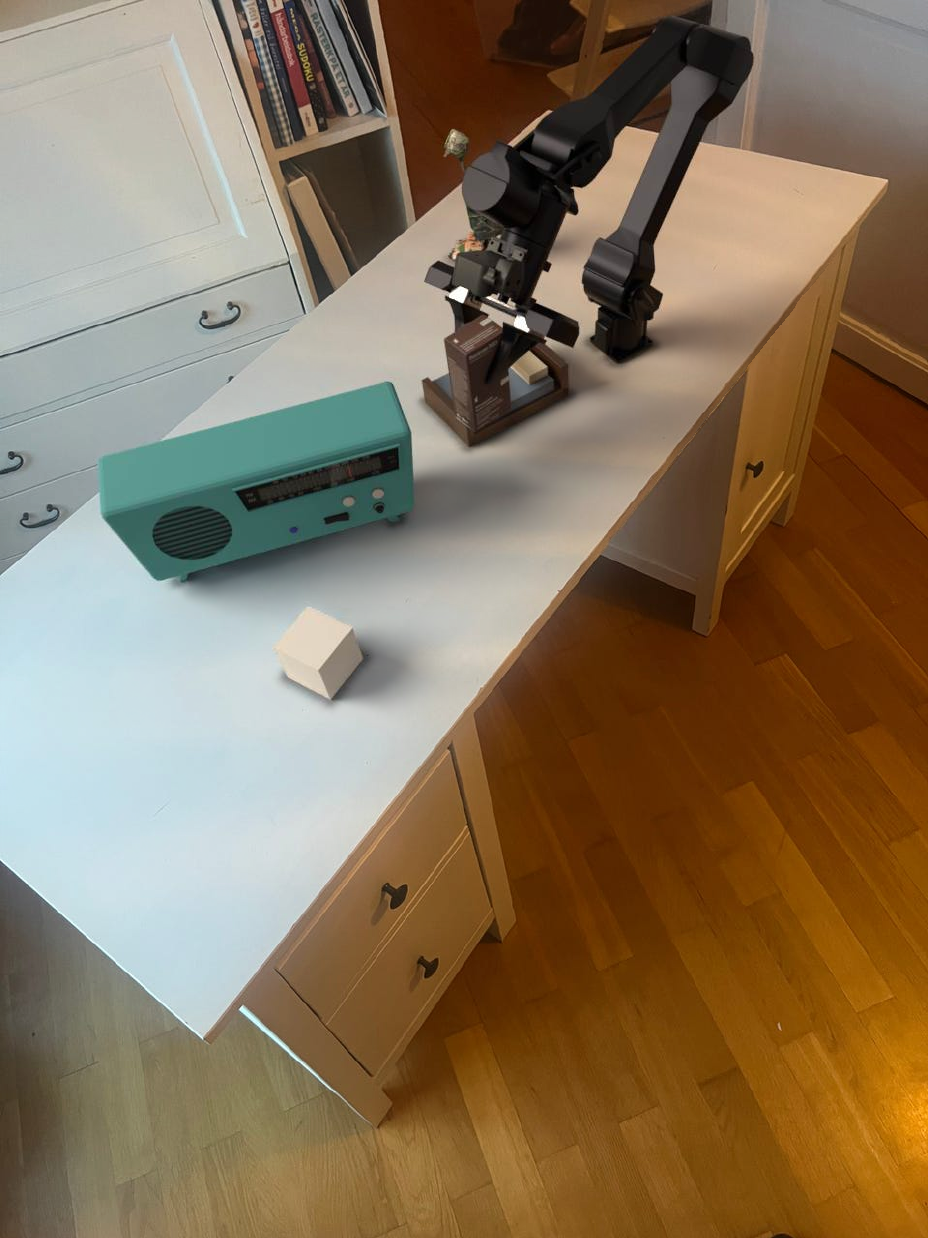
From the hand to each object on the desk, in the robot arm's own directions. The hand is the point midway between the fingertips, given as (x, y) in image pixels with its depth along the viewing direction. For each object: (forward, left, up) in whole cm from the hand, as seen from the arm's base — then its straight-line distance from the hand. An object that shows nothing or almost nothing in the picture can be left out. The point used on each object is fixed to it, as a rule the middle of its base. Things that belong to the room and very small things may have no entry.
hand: (471, 376), depth 102 cm
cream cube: (+31, +16, -13) cm, 38 cm away
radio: (+26, -4, -13) cm, 30 cm away
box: (-1, 0, -7) cm, 7 cm away
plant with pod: (-25, -37, -13) cm, 46 cm away
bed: (-8, -8, -13) cm, 17 cm away
